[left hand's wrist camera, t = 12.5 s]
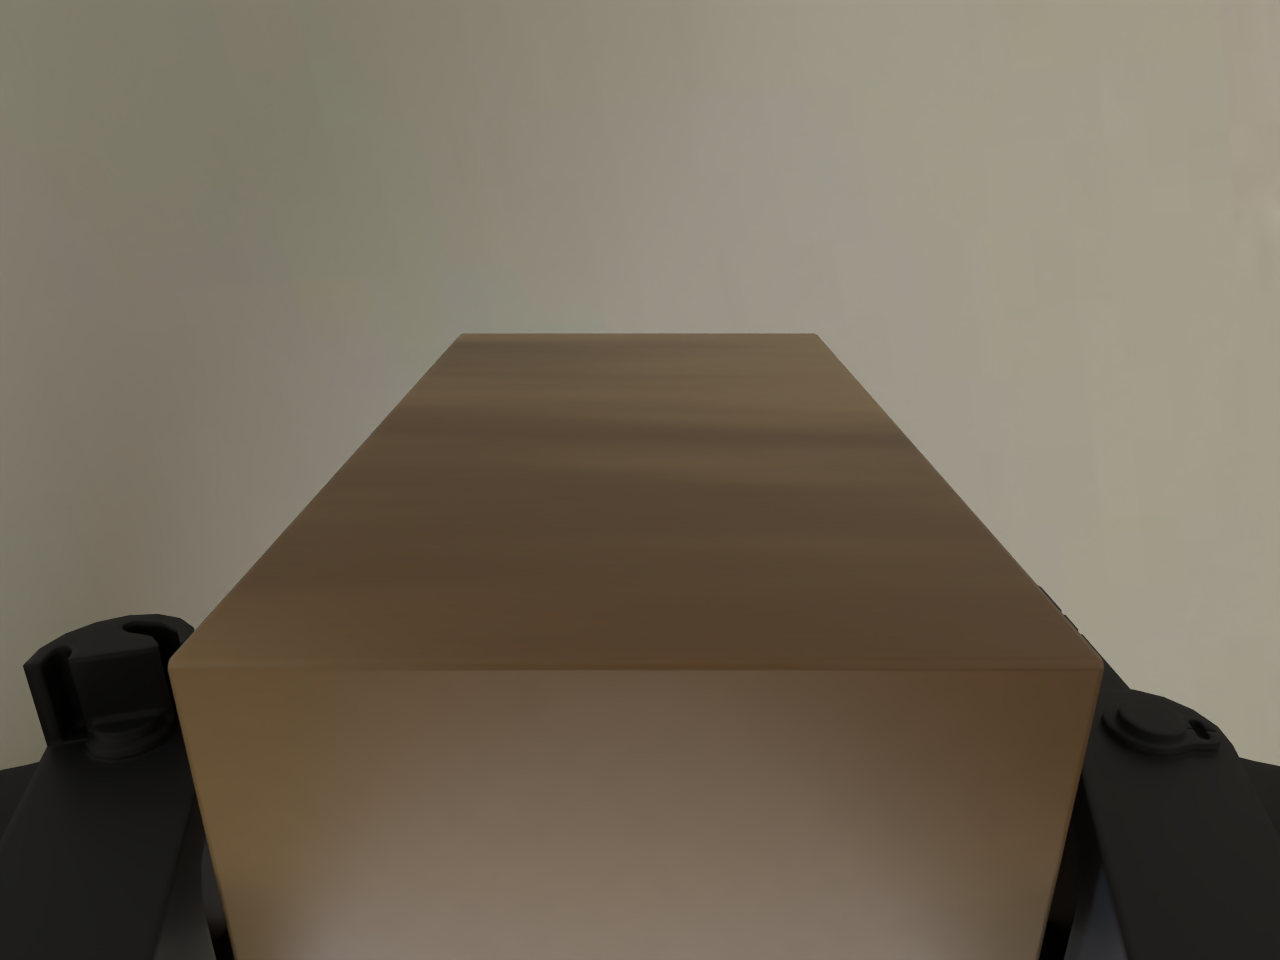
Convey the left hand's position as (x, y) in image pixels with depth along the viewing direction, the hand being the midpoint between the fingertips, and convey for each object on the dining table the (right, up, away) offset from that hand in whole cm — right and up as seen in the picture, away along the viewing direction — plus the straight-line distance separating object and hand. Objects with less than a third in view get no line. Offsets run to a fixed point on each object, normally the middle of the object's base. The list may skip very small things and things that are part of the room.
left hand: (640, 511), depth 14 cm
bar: (0, -8, +4) cm, 9 cm away
